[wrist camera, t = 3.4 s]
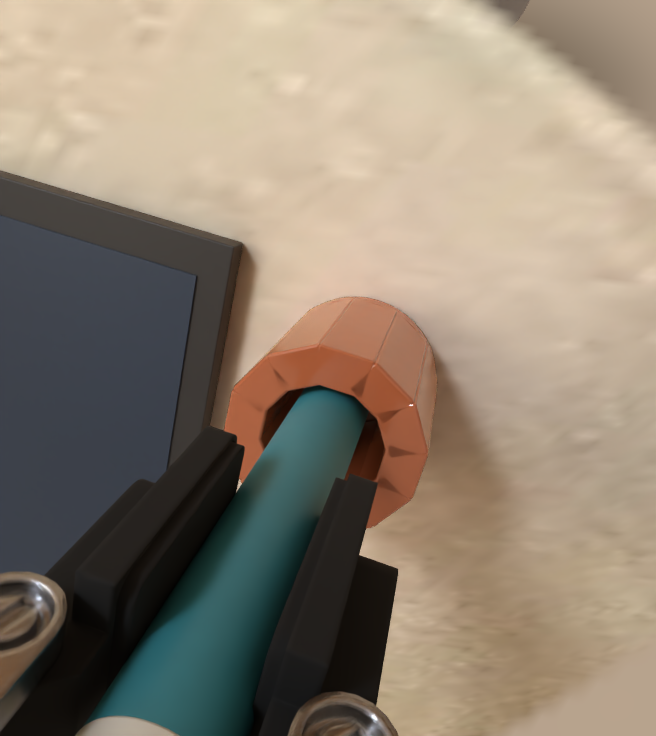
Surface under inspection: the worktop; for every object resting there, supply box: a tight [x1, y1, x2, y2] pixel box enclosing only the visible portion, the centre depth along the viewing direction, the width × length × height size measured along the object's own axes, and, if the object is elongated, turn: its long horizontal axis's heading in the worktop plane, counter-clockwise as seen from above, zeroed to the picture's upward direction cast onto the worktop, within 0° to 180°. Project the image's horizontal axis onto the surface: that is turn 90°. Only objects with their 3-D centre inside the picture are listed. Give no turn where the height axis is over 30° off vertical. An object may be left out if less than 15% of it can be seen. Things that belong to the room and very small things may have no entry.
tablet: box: [0, 171, 243, 575], centre depth 22 cm, size 20×13×1 cm, turn 166°
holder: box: [224, 297, 438, 528], centre depth 17 cm, size 5×5×5 cm
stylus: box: [75, 385, 369, 736], centre depth 12 cm, size 2×2×13 cm
